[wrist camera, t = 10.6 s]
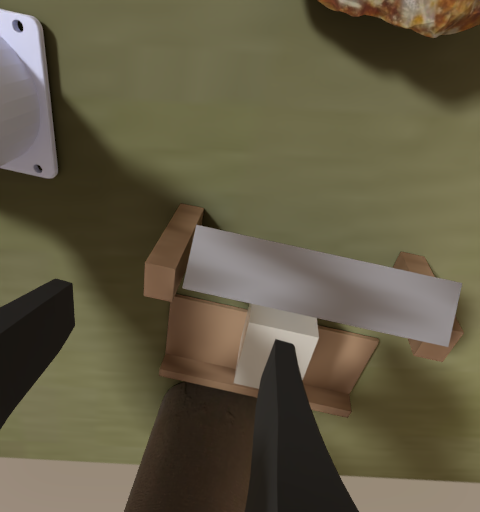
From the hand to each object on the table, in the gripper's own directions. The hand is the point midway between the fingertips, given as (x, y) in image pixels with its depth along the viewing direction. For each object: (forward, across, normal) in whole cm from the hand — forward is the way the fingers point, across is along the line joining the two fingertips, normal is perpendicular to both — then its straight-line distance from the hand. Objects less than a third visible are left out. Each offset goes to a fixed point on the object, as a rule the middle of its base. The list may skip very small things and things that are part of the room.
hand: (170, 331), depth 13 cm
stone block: (+8, -5, +7) cm, 12 cm away
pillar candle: (+11, -3, +20) cm, 23 cm away
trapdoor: (+7, -5, 0) cm, 8 cm away
